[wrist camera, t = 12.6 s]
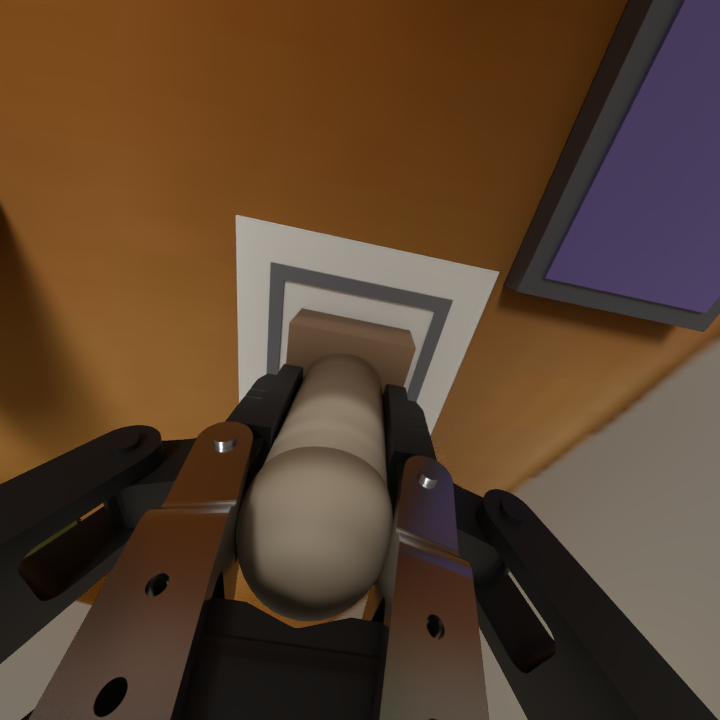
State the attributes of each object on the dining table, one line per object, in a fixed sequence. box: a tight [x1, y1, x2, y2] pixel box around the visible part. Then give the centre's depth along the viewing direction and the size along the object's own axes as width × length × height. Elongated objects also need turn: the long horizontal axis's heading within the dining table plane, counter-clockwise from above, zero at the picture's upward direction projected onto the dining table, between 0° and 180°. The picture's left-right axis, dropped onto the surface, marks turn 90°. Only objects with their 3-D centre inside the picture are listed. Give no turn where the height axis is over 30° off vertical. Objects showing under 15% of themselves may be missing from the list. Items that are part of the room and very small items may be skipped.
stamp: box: [236, 308, 416, 621], centre depth 9 cm, size 5×5×9 cm
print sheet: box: [236, 215, 499, 436], centre depth 13 cm, size 11×11×1 cm
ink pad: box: [504, 0, 720, 332], centre depth 9 cm, size 10×8×1 cm
